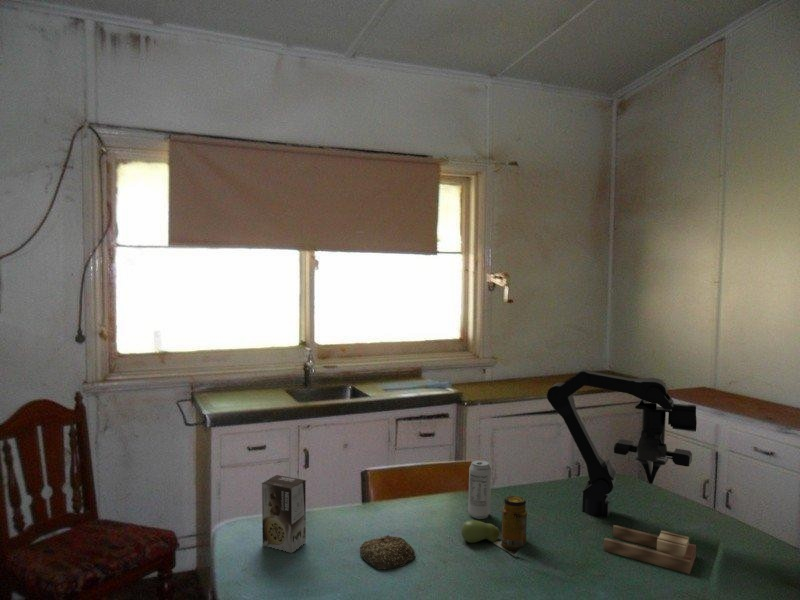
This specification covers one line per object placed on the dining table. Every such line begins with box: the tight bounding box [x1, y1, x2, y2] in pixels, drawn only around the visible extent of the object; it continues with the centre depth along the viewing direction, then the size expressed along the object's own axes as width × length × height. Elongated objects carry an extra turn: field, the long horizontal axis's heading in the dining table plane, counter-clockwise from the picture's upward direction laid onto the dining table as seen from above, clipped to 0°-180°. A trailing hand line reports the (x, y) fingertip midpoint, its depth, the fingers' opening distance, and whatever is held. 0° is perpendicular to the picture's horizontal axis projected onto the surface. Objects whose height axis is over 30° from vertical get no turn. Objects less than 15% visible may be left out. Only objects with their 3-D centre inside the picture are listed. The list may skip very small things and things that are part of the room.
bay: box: [602, 524, 697, 575], centre depth 143 cm, size 19×13×4 cm
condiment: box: [493, 495, 528, 558], centre depth 147 cm, size 7×8×12 cm
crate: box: [656, 530, 690, 558], centre depth 140 cm, size 6×6×5 cm
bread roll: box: [359, 534, 416, 570], centre depth 143 cm, size 13×12×5 cm
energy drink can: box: [467, 459, 492, 520], centre depth 166 cm, size 6×6×15 cm
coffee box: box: [261, 474, 307, 554], centre depth 147 cm, size 9×6×16 cm
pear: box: [460, 519, 501, 544], centre depth 151 cm, size 6×5×10 cm
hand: (650, 483), depth 160 cm, fingers closed
